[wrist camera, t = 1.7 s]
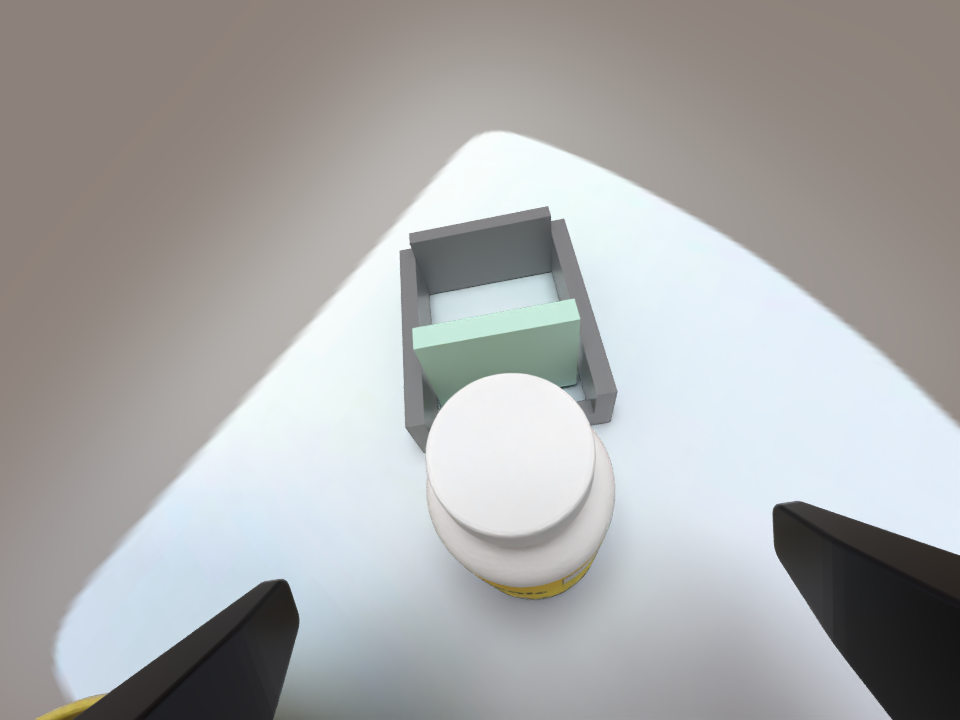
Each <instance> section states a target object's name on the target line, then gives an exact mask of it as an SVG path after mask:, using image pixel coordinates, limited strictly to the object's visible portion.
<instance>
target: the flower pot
mask: <svg viewBox="0 0 960 720" xmlns="http://www.w3.org/2000/svg"><path fill="white" fill-rule="evenodd" d="M107 694H108V693H106V694H101V695H95V696H91V697H87V698H84V699H81V700H77V701H74V702H72V703H69V704H66V705H64V706H61V707H58V708H56V709H54V710H52V711H50V712H48V713H46V714H44V715H42V716H40V717H38V718H36V719H34V720H72V719H74V718H75V717H76V716H78V715H79V714H80V713H82V712H83V711H85V710H86V709H87V708H89V707H90V706H92V705H93V704H94V703H96V702H97V701H98V700H100V699H101V698H103V697H104V696H105V695H107Z"/></svg>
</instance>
